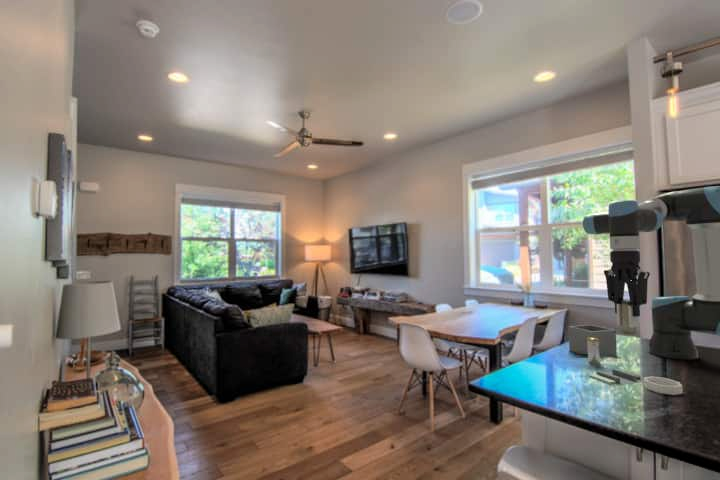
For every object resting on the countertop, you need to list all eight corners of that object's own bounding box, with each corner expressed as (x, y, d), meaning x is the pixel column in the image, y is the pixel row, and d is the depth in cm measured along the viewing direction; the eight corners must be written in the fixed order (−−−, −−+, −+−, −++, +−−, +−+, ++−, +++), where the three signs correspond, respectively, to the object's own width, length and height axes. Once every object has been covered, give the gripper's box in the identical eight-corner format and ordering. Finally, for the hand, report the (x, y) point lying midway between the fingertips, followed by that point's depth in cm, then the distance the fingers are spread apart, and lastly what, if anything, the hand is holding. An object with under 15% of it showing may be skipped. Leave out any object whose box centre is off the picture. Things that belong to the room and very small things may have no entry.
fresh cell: (593, 364, 134) (592, 337, 134) (602, 367, 130) (601, 339, 131) (585, 365, 133) (584, 337, 133) (594, 368, 129) (593, 340, 130)
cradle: (618, 375, 121) (617, 366, 122) (649, 385, 112) (648, 375, 112) (585, 379, 118) (584, 370, 118) (614, 391, 108) (613, 380, 108)
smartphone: (610, 352, 150) (610, 349, 151) (597, 359, 141) (596, 356, 141) (588, 348, 157) (588, 345, 157) (574, 355, 147) (574, 352, 147)
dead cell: (625, 331, 115) (624, 300, 115) (638, 334, 112) (637, 301, 112) (619, 332, 113) (618, 300, 114) (632, 335, 110) (631, 302, 110)
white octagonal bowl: (658, 387, 110) (657, 375, 110) (689, 397, 102) (688, 384, 103) (638, 390, 108) (637, 378, 108) (667, 401, 100) (667, 388, 100)
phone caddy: (591, 347, 156) (590, 324, 156) (616, 355, 145) (615, 329, 145) (569, 350, 153) (568, 326, 153) (593, 357, 142) (592, 332, 142)
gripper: (592, 250, 120) (595, 321, 119) (641, 250, 105) (644, 331, 104) (610, 250, 122) (613, 320, 121) (660, 249, 106) (664, 330, 105)
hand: (627, 325), depth 112 cm, fingers closed on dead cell, 3 cm apart
